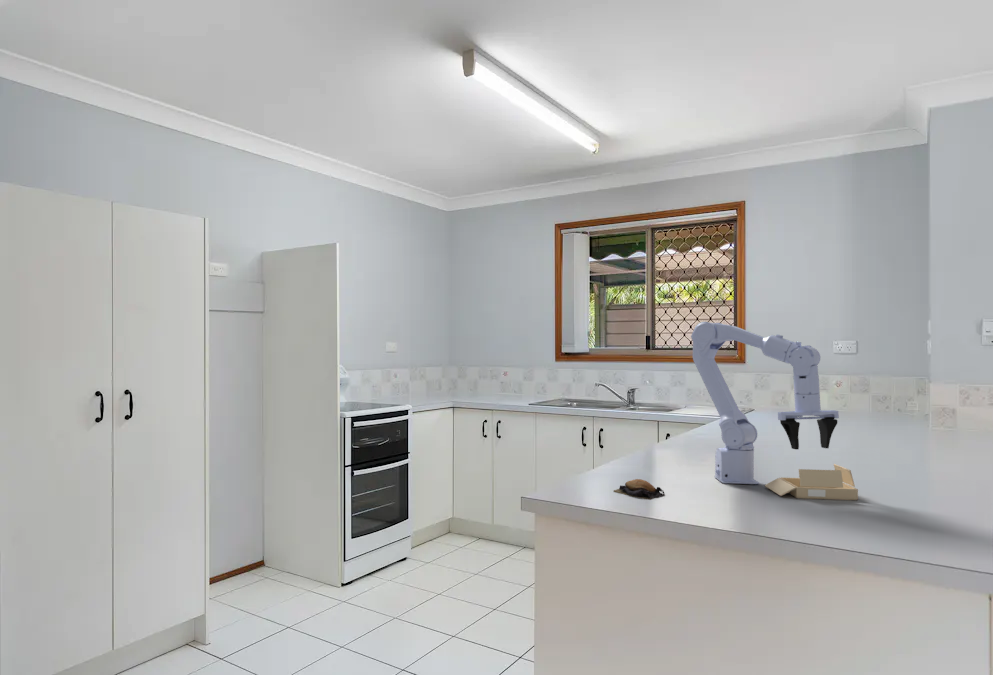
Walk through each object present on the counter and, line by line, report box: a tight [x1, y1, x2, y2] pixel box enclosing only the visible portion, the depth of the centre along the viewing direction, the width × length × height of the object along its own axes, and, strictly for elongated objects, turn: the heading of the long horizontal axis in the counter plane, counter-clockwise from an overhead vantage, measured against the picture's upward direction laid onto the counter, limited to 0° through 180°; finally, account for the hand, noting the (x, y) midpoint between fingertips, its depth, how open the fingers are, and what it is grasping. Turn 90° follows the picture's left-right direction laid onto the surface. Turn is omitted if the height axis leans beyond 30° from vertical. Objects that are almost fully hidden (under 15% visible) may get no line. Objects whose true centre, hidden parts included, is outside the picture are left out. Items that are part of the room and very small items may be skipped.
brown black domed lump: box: [613, 478, 666, 500], centre depth 149 cm, size 11×8×4 cm
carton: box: [764, 477, 859, 501], centre depth 153 cm, size 18×15×3 cm
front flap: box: [798, 468, 844, 488], centre depth 146 cm, size 10×4×1 cm
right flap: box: [833, 463, 856, 488], centre depth 151 cm, size 4×8×1 cm
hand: (810, 448), depth 152 cm, fingers open, 7 cm apart
